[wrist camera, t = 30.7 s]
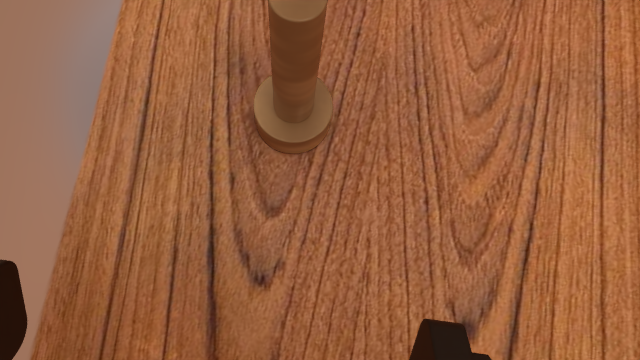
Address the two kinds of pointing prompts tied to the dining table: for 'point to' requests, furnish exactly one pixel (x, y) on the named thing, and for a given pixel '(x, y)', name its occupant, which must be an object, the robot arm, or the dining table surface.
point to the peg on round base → (294, 79)
